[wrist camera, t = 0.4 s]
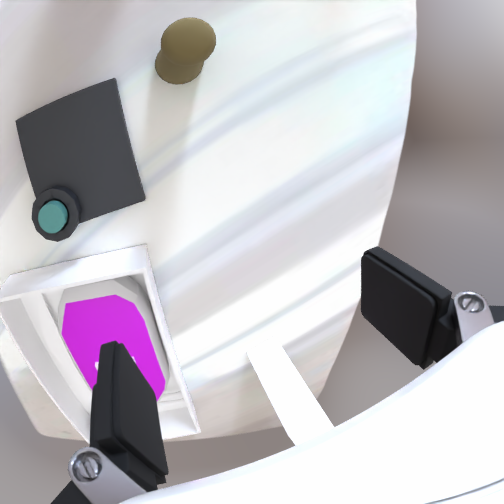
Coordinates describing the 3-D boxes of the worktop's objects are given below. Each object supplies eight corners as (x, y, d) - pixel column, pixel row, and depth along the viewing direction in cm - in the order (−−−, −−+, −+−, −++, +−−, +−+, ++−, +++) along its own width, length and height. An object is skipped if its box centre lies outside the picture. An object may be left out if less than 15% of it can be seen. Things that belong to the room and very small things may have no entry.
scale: (14, 123, 25) (4, 123, 23) (116, 79, 28) (113, 75, 26) (49, 239, 33) (43, 247, 30) (147, 203, 36) (147, 209, 33)
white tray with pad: (93, 420, 47) (92, 448, 41) (10, 274, 32) (-9, 300, 26) (193, 404, 53) (201, 433, 47) (146, 244, 38) (146, 268, 32)
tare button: (38, 206, 29) (34, 210, 27) (62, 196, 29) (58, 199, 28) (48, 232, 30) (44, 237, 29) (71, 223, 31) (68, 227, 29)
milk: (246, 352, 51) (296, 452, 32) (275, 335, 52) (336, 429, 33) (259, 369, 54) (308, 461, 35) (286, 353, 55) (343, 441, 36)
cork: (169, 93, 31) (176, 77, 22) (146, 55, 28) (145, 27, 19) (211, 70, 32) (235, 48, 22) (189, 33, 29) (205, 0, 19)
